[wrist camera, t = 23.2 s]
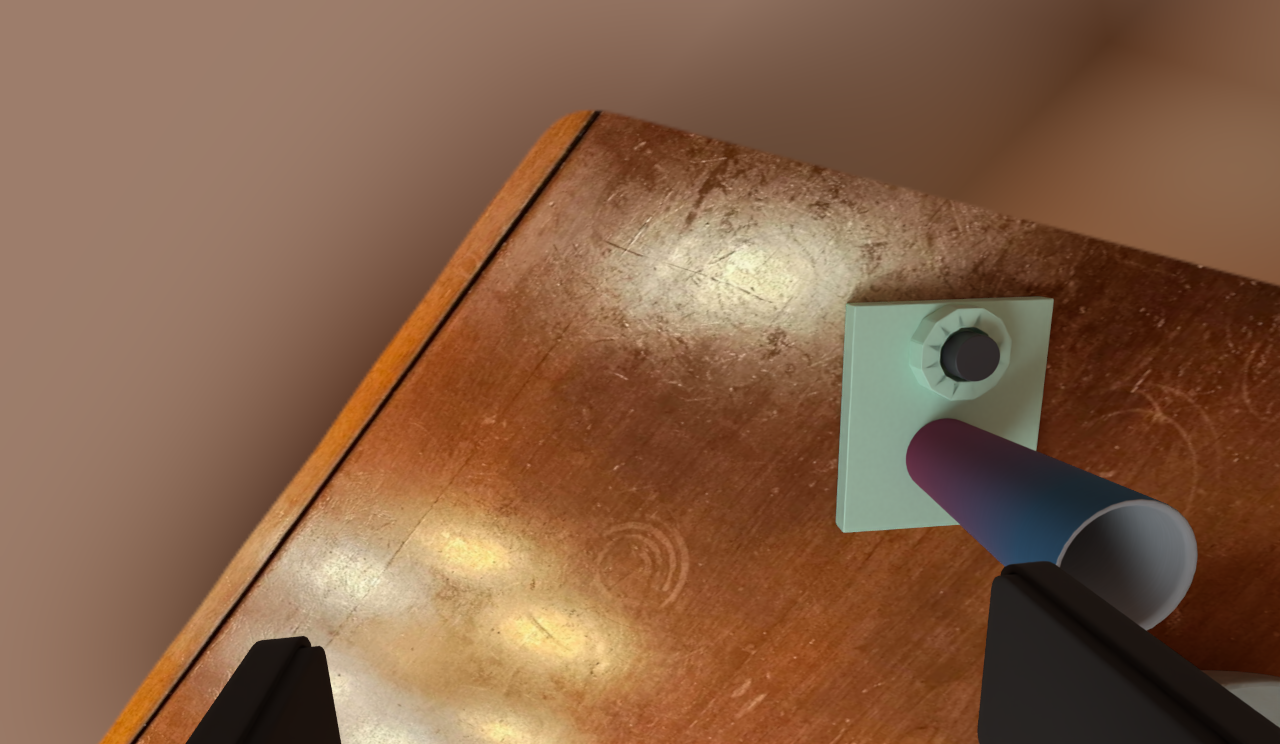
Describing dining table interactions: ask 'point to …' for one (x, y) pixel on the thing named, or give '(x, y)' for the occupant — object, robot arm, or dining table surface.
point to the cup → (1057, 517)
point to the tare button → (971, 356)
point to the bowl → (1252, 690)
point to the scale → (928, 396)
